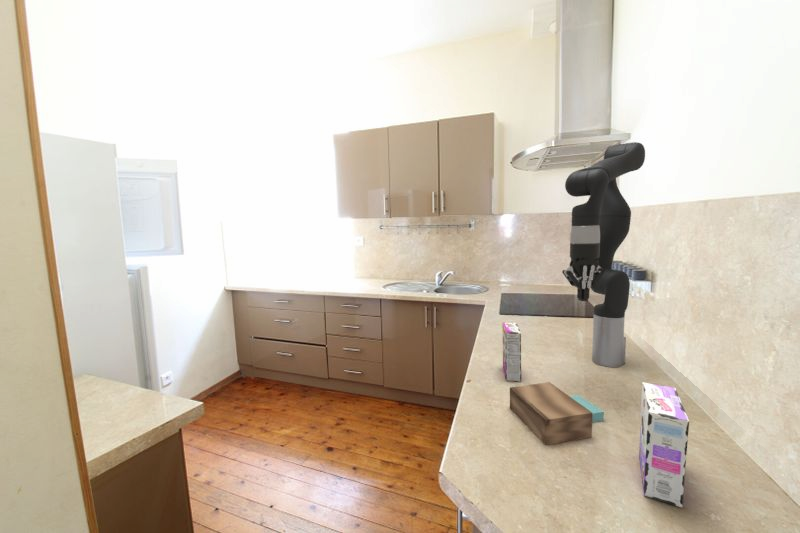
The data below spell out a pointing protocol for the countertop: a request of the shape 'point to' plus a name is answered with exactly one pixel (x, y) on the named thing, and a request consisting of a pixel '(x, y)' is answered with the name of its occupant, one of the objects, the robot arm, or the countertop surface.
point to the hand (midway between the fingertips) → (583, 300)
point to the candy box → (663, 443)
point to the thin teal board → (590, 408)
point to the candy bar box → (511, 351)
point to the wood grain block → (550, 413)
